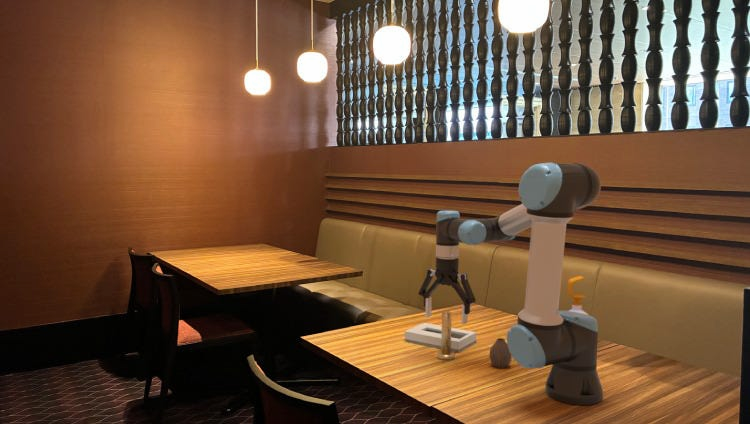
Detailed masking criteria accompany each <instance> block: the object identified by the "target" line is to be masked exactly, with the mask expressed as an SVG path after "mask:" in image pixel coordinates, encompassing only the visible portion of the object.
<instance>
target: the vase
mask: <svg viewBox="0 0 750 424" xmlns="http://www.w3.org/2000/svg"><path fill="white" fill-rule="evenodd" d="M512 358H513V357H512V355H511V353H510V351H509V349H508V345H507V341H506V340H505V338H501V337H499V338H497V339H496V341H495V342H494V343H493V344H492V345H491V347H490V350H489V360H490V362H491V364H492V366H493V367H495V368H498V369H500V368H501V369H504V368H507V367H509V365H510V363H511V361H512Z"/></svg>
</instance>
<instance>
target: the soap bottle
mask: <svg viewBox="0 0 750 424" xmlns="http://www.w3.org/2000/svg"><path fill="white" fill-rule="evenodd" d="M584 279H585V278H584V276H582V275H578V276H575V277H571V278H570V279H568V281H567V294H568V295H569V296H570V297H572V299H573V300H574V302H571V309H569V310H568V311H572V312H578V313H583V314H587V315H589V314H588V313H587V312H586V311H585V310H583V303H581V302H580V300H582V299H585V298H586V295H584V294H581V293H573V286H574V284H575V283H576V282H579V281H582V280H584Z"/></svg>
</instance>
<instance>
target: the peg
mask: <svg viewBox="0 0 750 424" xmlns="http://www.w3.org/2000/svg"><path fill="white" fill-rule="evenodd" d="M452 314H453V313H452V311H449V310H442V311H441V326H442V349H441V351H437V354H436V355H437V356H436V358H437V359H438V360H440V361H454V360H456V352H453V351H451V328H452V316H453V315H452Z"/></svg>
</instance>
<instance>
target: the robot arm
mask: <svg viewBox="0 0 750 424" xmlns="http://www.w3.org/2000/svg"><path fill="white" fill-rule="evenodd" d="M600 178H601V177H600V176H599V174H598V173H597V172H596V170H595V169H593V168H592V167H591V166H589V165H587V164H585V163H579V162H578V163H577V162H574V163H566V162H565V163H564V162H542V163H537V164H533V165H531V166H530V167H528V169H527V170H526V171H524V173H523V174H522V176H521V177H520V181H519V184H518V196H519V199H520V202H521V204H519V205H517V206H515V207H513V208H511V209H509V210H508V211H506V212H504V213H502V214H500V215H498V216H496V217H492V218H489V217H488V218H474V219H470V218H469V219H466V218H465V219H463V218H461V217H460V216H461V215H460V212H459V211H458V210H439V211H438V212H437V213H436V222H435V225H436V227H435V230H436V231H435V235H436V237H435V243H436V245H435V257H436V258H435V270H434V268H431V269H428V270H427V272H426V276H425V279H424V281H423V283H422V285H421V287H420V289H419V290H418V295H419V296H422V298H423V307H425V312H424V313H425V318H431V317H432V300H433V298H432V296H431V294H433V293H434V292H435V290H436V289H437V288H438V287H439V286H440V285H441V286H448V287H450V286H451V287H452V289H454V290H455V292H456V294H457V295H458V296H459V298H460V299H461V301H462V304H461V325H463V326H464V325H466V324H467V323H468V316H469V314H470V313H471V304H474V303H476V302H477V300H476V296H475V294H474V292H473V290H472V288H471V285H470V282H469V279H468V274H467V273H464V272H463V273H459V265H460V264H459V263H460V261H459V258H458V257H460V255H459V254H460V251H459V250H460V247H459V246H460V243H462V244H465V245H468V246H472V245H473V246H478V245H480V244H482V243H491V242H493V243H494V242H506V241H511V240H514V239H515V238H516V236H517V235H518V234H519V233H521V232H523V231H527V229H530V239H529V250H528V251H529V252H528V264H527V275H526V287H525V299H524V307H523V309H521V310H520V311H519V312H518V313H517V321H516V322H517V323H516V324H514V325H512V326H511V327H510V328H509V329H508V331H507V334H506V343H507V345H508V349H509V351H510V353H511V355H512V358H513V360H514V361H515V362H516V363H517V364H518V365H519V366H521V367H522V368H525V369H528V370H530V369H542V368H544V367H548V366H549V367H550V366H551V368H550V371H549V373H548V375H547V378H546V381H545V388H544V389H545V390H544V391H545V394H546V395H547V396H548V397H549V398H551V399H553V400H555V401H557V402H561V403H563V404H564V403H565V404H570V405H576V406H577V405H578V406H590V405H596V404H598V403H600V402H601V401H603V394H604V393H603V387H602V384H601V380H600V377H599V374H598V370H597V369H598V368H597V364H598V363H597V362H598V344H599V343H598V342H599V341H598V340H599V336H598V335H599V327H598V326H599V325H598V320H597V319H596V318H595V317H594V316H592V315H590V314H588V313H587V314H588V315H587V314H583V313H578V312H572V311H569V310H559V308H560V307H559V306H560V296H561V286H562V283H561V282H562V275H563V274H562V273H563V265H564V253H565V242H566V232H567V224H568V223H569V222H570V221H571V220H572V219H574V215H575V212H576V211H579V210H581V209H583V208H586V207H588V206H590V205H592V204H593V203H594V202H595V201H596V200H597V198H598V197H599V196H600V193H601V188H602V182H601V179H600ZM433 277H436V279H434V281H433V283H432V284H431V282H432V280H433ZM458 279H459V280H460V282H459V280H458ZM430 284H431V286H430ZM429 286H430V287H429ZM462 287H463V288H462Z"/></svg>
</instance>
